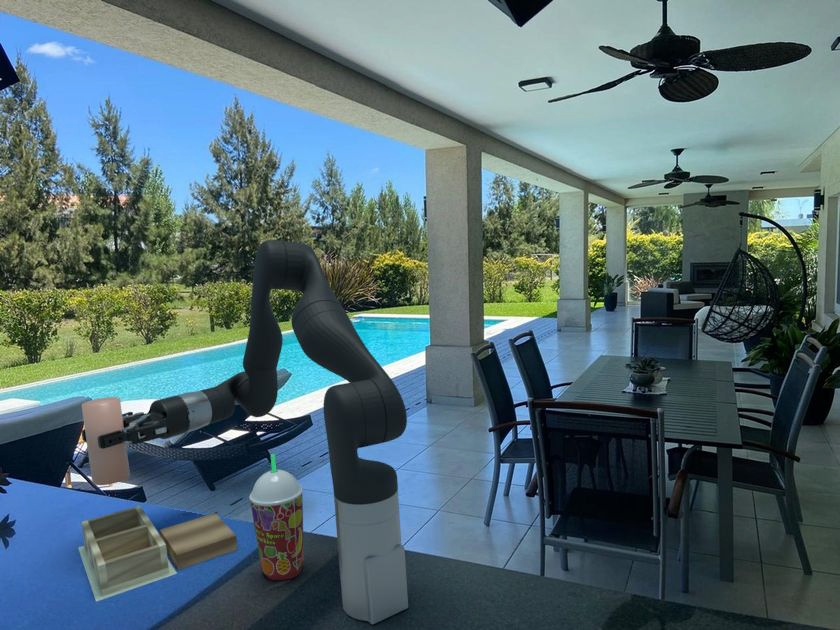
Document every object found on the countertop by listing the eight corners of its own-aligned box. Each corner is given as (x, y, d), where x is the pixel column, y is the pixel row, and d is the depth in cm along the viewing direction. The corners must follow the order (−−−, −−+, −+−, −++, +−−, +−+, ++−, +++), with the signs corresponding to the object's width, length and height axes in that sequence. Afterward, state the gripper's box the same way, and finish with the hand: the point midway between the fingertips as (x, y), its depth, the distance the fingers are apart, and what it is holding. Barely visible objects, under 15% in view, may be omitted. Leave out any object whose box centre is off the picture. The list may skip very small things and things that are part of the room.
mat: (177, 575, 102) (177, 573, 101) (96, 603, 95) (96, 601, 95) (148, 528, 119) (147, 526, 119) (78, 549, 113) (78, 547, 113)
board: (237, 551, 108) (236, 535, 108) (178, 572, 103) (176, 555, 102) (216, 527, 118) (215, 512, 118) (161, 545, 112) (160, 529, 112)
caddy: (169, 573, 102) (165, 544, 101) (102, 596, 96) (98, 566, 95) (143, 530, 118) (140, 505, 117) (84, 547, 112) (81, 521, 112)
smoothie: (246, 580, 99) (234, 460, 96) (280, 555, 106) (270, 443, 104) (287, 591, 95) (275, 467, 92) (319, 564, 102) (309, 449, 100)
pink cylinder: (132, 478, 109) (122, 401, 107) (95, 488, 105) (83, 409, 103) (126, 468, 113) (116, 395, 112) (90, 478, 110) (79, 402, 108)
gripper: (160, 390, 123) (70, 412, 110) (199, 400, 114) (106, 425, 101) (164, 426, 124) (76, 452, 111) (203, 438, 115) (112, 468, 102)
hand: (91, 439), depth 106 cm, fingers closed on pink cylinder, 6 cm apart
